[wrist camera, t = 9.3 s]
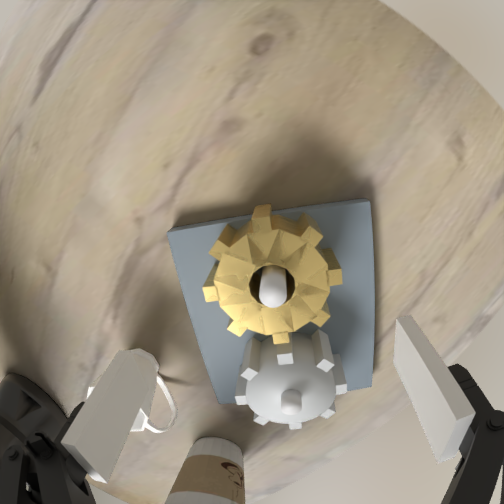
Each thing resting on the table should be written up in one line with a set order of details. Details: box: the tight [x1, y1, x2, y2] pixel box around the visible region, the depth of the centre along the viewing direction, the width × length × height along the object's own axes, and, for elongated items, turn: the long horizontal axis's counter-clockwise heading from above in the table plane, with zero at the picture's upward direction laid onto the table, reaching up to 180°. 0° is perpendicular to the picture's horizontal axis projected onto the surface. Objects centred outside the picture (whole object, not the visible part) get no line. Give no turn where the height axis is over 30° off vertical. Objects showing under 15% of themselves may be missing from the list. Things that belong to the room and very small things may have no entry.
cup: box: [87, 348, 178, 433], centre depth 30 cm, size 7×10×8 cm
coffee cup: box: [165, 437, 245, 504], centre depth 31 cm, size 11×11×15 cm
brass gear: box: [202, 204, 343, 344], centre depth 24 cm, size 10×10×4 cm
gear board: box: [167, 198, 375, 430], centre depth 26 cm, size 17×20×8 cm
